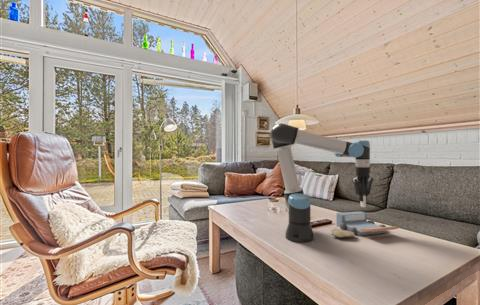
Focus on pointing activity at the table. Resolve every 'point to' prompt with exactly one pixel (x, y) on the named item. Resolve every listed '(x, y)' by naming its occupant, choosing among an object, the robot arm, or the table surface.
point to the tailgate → (379, 229)
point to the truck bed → (356, 223)
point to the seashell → (342, 233)
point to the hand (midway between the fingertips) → (363, 206)
